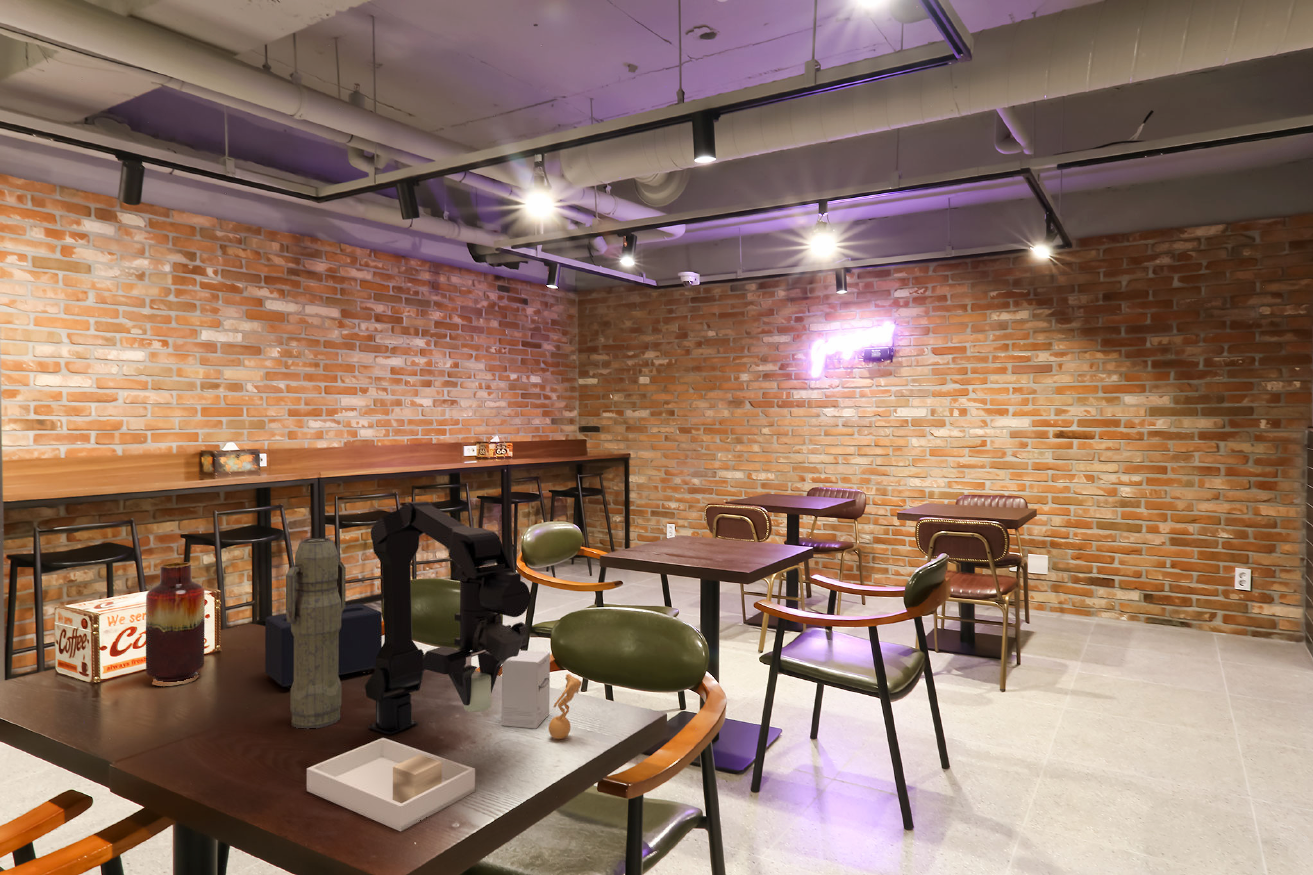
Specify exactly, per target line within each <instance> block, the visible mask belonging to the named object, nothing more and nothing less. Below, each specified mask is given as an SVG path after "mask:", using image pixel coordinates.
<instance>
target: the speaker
mask: <svg viewBox="0 0 1313 875" xmlns="http://www.w3.org/2000/svg"><path fill="white" fill-rule="evenodd" d="M345 606H346V608H345V609H344V610H343V612H342V613H341V628H340V630H339V650H338V676H341V675H347V674H352V673H356V672H362V673H363V672H365V673H367V674H369V673H368V672H370V673H371V672H372V669H375V663H376V657H377V655H378V653H379V651H380V649H381V648H382V646H383V644H382V643H383V640H382V639H383V637H382V636H383V635H382V634H383V625H382V624H383V612H382V611H380V610H377V609H374V608H373V607H371V606H368V605H365V604H364V603H361V602H358V603H352V604H345ZM264 625H265V630H264V631H265V634H264V635H265V638H264V639H265V642H264V643H265V645H264V646H265V650H264V652H265V653H264V656H265V657H264V659H265V662H264V664H265V665H264V666H265V667H264V668H265V669H264V671H265V672H264V673H265V674H266V675H268V676H269V677H270V678H271V679H272V680H274V681H275V682H276V683H277V684H279V685H280V686H281V687H283V688H284V687H285V688H287V689H288V688H291V687H292V684H293V682H294V636H293V634H292V632H291V623H287V619H286V613H284V614H276V615H269V616H266V617H265V624H264ZM365 673H364V674H365Z"/></svg>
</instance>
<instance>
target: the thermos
mask: <svg viewBox="0 0 1313 875" xmlns="http://www.w3.org/2000/svg"><path fill="white" fill-rule="evenodd" d="M346 584H347V583H346V566H345V565H344V563H343V562H342V561H339V554H338V550H337V547H336V544H335V541H334V540H332V539H330V538H325V537H316V538H315V537H313V538H307V539H303V540H302V541H300V542H299V543H298V546H297V549H296V552H295V556H294V565H292V567H289V569H288V571H287V573H286V575H285V614H286V619H287V623H291V632H292V634H293V636H294V682H293V684H292V687H291V689H290V693H289V694H290V698H289V699H290V700H289V701H290V708H289V709H290V714H291V721H290V722H291V723H292V724H291V726H292V725H293V726H294V727H296V728H295V729H298V728H307V729H306V730H310V729H309V728H316V729H321V728H322V729H323V728H326V727H328V726H331V725H333V724H336V723H337V722H338V720H339V721H340V719H341V705H342V682H341V679H340V677H339V675H338V650H339V630H340V628H341V613H342V612H343V610H344V609H345V608H346V606H345V605H346ZM293 726H292V727H293ZM294 727H293V728H294Z"/></svg>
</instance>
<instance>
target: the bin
mask: <svg viewBox="0 0 1313 875" xmlns="http://www.w3.org/2000/svg"><path fill="white" fill-rule="evenodd" d="M417 755H423V756H426V757H428V758H431V759H434V760H437V761H440V762H442V783H441V784H439V785H437V786H435V787H433V788H431V789H429V790H427V791H425V792H423V793H421V794H419V795H417V796H415V797H413V798H411V799H409V800H407V801H405V802H403V803H399V802H397V801H395V800H393V766H395V765H397V764H399V763H402V762H404V761H406V760H408V759H411V758H413V757H415V756H417ZM306 792H309V793H310V794H313V795H315V796H318V797H320V798H322V799H325V800H326V801H329V802H331V803H334V804H336V805H338V806H341V807H343V808H346V809H348V810H350V811H353V812H355V813H357V814H359V815H362V816H364V817H366V818H368V819H370V820H374V821H375V822H377V823H380V824H382V825H384V826H387V827H389V828H392V829H394V830H395V831H398V832H399V833H401V832H402V831H404V830H406V829H408V828H410V827H412V826H414V825H415V824H417V823H420V822H421V821H423V820H425V819H426V817H427V818H429V817H430V816H432V815H434V814H436V813H437V812H440V811H441V810H443V809H446V808H447V807H449V806H450V805H452V804H454V803H456V802H458V801H460V800H462V799H463V798H465V797H468V796H469V795H470V794H471V795H472V793H474V792H476V768H474V767H471V766H468V765H466V764H463V763H459V762H456V761H453V760H450V759H447V758H444V757H441V756H439V755H436V754H432V753H430V752H427V751H424V750H420V749H418V748H414V747H412V746H409V745H406V744H403V743H401V742H400V743H399V742H396V741H394V740H391V739H388V738H386V737H381V738H378V739H377V740H374V741H371V742H370V743H367V744H365V745H361V746H359V747H357V748H354V749H352V750H349V751H347V752H344V753H341V754H339V755H337V756H334V757H331V758H329V759H327V760H324V761H322V762H319V763H317V764H314V765H312V766H310V767H307V768H306ZM420 820H421V821H420Z"/></svg>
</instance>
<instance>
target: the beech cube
mask: <svg viewBox="0 0 1313 875" xmlns="http://www.w3.org/2000/svg"><path fill="white" fill-rule="evenodd" d="M441 783H442V762H440V761H437V760H434V759H431V758H428V757H426V756H423V755H417V756H415V757H413V758H411V759H408V760H406V761H404V762H402V763H399V764H397V765H395V766H393V800H395V801H397V802H399V803H403V802H405V801H407V800H409V799H411V798H413V797H415V796H417V795H419V794H421V793H423V792H425V791H427V790H429V789H431V788H433V787H435V786H437V785H439V784H441Z"/></svg>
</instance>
